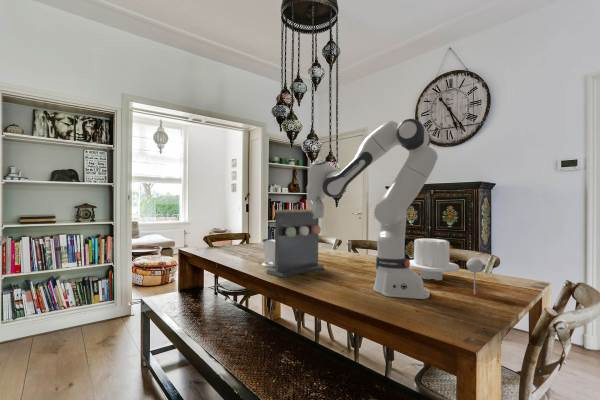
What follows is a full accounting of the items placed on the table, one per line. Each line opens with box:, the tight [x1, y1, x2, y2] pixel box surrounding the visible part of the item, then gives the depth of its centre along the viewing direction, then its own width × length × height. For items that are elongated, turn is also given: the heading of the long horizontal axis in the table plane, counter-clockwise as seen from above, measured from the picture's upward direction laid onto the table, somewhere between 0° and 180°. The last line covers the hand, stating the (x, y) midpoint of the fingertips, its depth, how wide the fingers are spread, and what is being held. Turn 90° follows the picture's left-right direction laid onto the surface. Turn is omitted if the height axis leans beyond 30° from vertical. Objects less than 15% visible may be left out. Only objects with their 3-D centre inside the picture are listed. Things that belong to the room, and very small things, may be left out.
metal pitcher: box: [261, 238, 275, 268], centre depth 182 cm, size 12×11×15 cm
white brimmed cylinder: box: [409, 238, 460, 281], centre depth 155 cm, size 25×25×19 cm
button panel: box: [266, 209, 324, 278], centre depth 167 cm, size 12×32×33 cm, turn 137°
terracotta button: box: [311, 225, 322, 235], centre depth 171 cm, size 3×5×5 cm, turn 137°
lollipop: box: [466, 257, 484, 295], centre depth 126 cm, size 6×6×15 cm
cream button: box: [299, 226, 309, 236], centre depth 163 cm, size 3×5×5 cm, turn 137°
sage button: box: [285, 227, 296, 237], centre depth 156 cm, size 3×5×5 cm, turn 137°
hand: (313, 217), depth 156 cm, fingers closed
